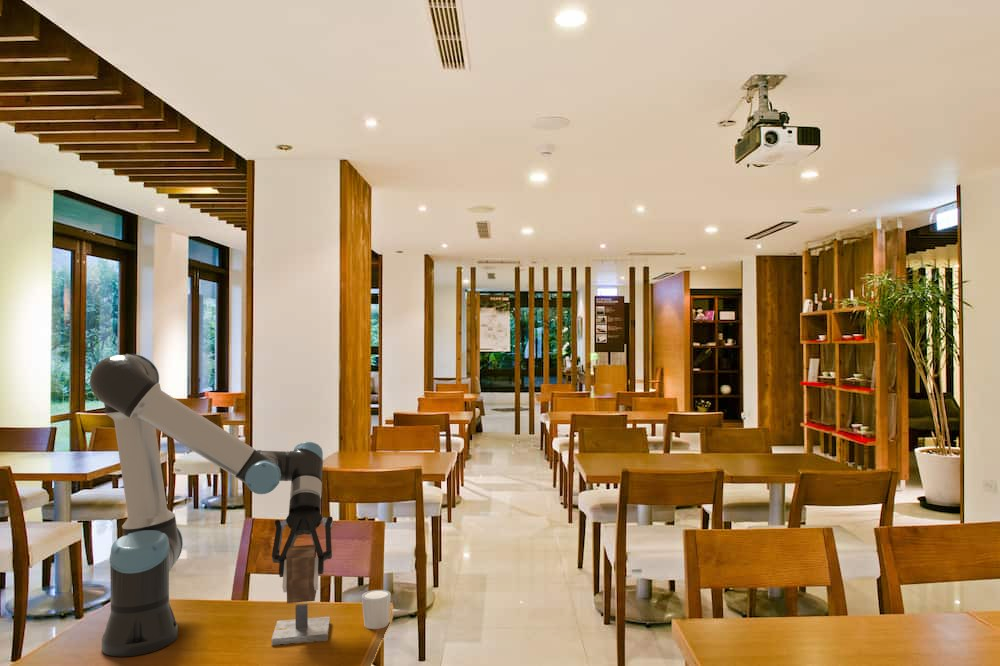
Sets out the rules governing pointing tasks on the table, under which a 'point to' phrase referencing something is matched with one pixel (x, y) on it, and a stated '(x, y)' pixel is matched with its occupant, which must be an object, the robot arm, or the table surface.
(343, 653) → the table surface
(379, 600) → the white cup
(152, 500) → the robot arm
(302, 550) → the brown slotted box
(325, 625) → the grey stand base
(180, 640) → the table surface
